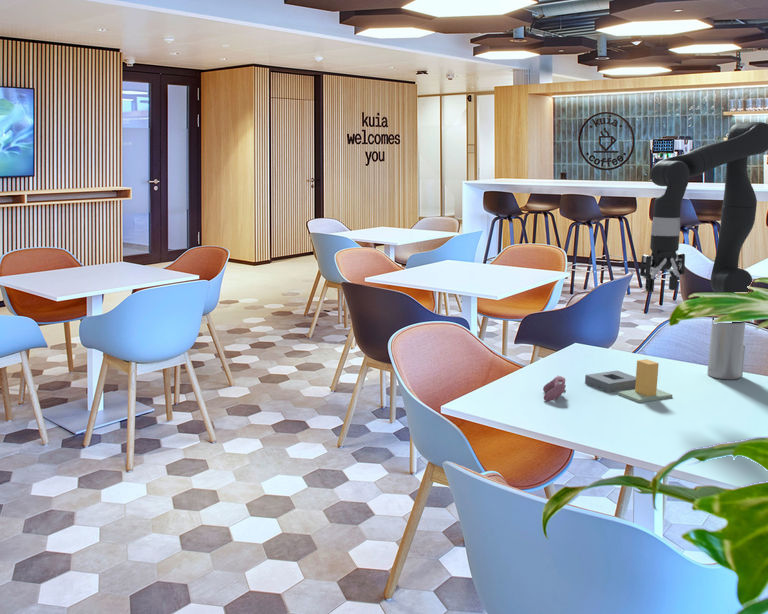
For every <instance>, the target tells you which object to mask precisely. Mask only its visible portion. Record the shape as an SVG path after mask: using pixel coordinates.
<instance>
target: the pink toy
mask: <svg viewBox="0 0 768 614" xmlns="http://www.w3.org/2000/svg"><path fill="white" fill-rule="evenodd" d="M542 390H543V392H544V393H545V394H544V395H543V400H544V401H545V402H551V401H555V400H558V398H560V396H562V395H563V394H566V392H567V389H566V377H564V376H560V375H557V376H555V377H554V378H553V379H552V380H551V381H549V382H548V383H546V384H545V385H544V386H543V388H542Z"/></svg>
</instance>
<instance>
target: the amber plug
mask: <svg viewBox="0 0 768 614" xmlns="http://www.w3.org/2000/svg"><path fill="white" fill-rule="evenodd" d="M635 371H636V372H635V377H636V383H635V388H634V390H635V392H637V393H640V394H642V395H645V396H652V395H656V391H657V389H658V388H657V387H658V379H659V378H658V376H659V362H656V361H653V360H651V359H639V360H638V359H637V360H636V370H635Z"/></svg>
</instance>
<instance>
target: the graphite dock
mask: <svg viewBox="0 0 768 614" xmlns="http://www.w3.org/2000/svg"><path fill="white" fill-rule="evenodd" d="M635 383H636V375H635V376H634V375H631V374H629V373H626V372H623V371H620V370H611V371H604V372H597V373H590V374H585V379H584V384H586V385H588V386H591V387H594V388H597V389H599V390H602V391H604V392H606V393H612V392H621V391H627V390H634V389H635Z"/></svg>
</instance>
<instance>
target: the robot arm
mask: <svg viewBox="0 0 768 614" xmlns="http://www.w3.org/2000/svg"><path fill="white" fill-rule="evenodd" d="M767 151H768V123H767V122H762V121H750V122H748V121H747V122H745V121H744V122H737V123H735V124H734V125H732V126H731V128H730V129H729V131H728V134H727V139H726V140H722V141H717V142H713V143H709V144H705V145H702V146H700V147H697V148H694V149H692V150H690V151H687V152H686V153H683V154H679V155H674V156H672V157H668V158H665V159H662V160H659V161H658V162H656V163H655V164H654V165H653V166H652V168H651V170H650V173H649V177H650V180H651V182H652V183H653V184H654V185H656V186H659V187H666V188H665V191H664V194H663V195H661V194H660V195H659V196H656V197H655V199H654V204H653V218H652V222H651V233H650V242H649V244H650V245H649V249H650V251H651V254H650V255H647V254H642V256H641V261H640V262H641V263H640V269H639V270H640V271H639V276H640V277H644V278H645V286H644V287H645V291H646V292H647V293H654V291H655V289H654V288H655V278H656V275H657V274H659V273H660V271H664V270H666V271H667V272H668V274H669V278H668V279H669V280H668V289H669V290H670V291H676V290H677V288H678V280H679V277H680V276H681V275H684V274H685V267H686V265H685V264H686V262H685V261H686V254H685V253H682V252H677V251H679V248H680V247H679V246H680V237H681V236H680V234H681V211H682V210H681V209H682V201H683V198H684V195H685V193H686V190H687V187H688V184H689V182H690V181H689V180H690V178H693V177H697V176H699V175H701V174H704V173H706V172H708V171H711V170H712V169H715V168H718V167H720V166H724V165H726V166H725V167H726V170H725V183H724V191H723V192H724V193H723V200H722V206H721V214H720V226H719V232H718V233H719V234H718V241H717V247H716V253H715V256H714V257H715V258H714V261H713V262H714V263H713V266H712V270H711V275H710V288H711V290H712V291H713V292H714V293H715V292H748V291H749V289H748V288H747V286H749V285H750V284H751V282H752V281H753V283H752V284H751V285H752V287H753V288H754V280H753V277H752V275H751V273H750V272H749V271H747V270H745V269H743V268H739V261H740V253H741V250H742V247H743V245H744V243H745V242H746V239H747V238H748V237H749V235H750V233H751V232H752V229H753V227H754V225H755V220H756V213H757V207H758V205H757V204H758V200H757V196H756V195H757V194H756V192H755V190H754V188H753V185H752V183H751V180H750V178H749V174H748V158H749V157H751V156H756V155H761V154H764V153H765V152H767ZM711 319H712V320H711V326H710V327H711V329H710V340H709V353H708V360H707V361H708V362H707V375H708V376H709V377H712V378H715V379H720V380H737V379H738V380H739V379H740V378H741V377H743V375H744V374H743V372H744V365H745V364H744V363H745V354H746V346H745V344H744V342H745V332H746V331H745V330H746V321H745V322H732V323H717V324H714V323H713V320H714V318H712V317H711Z"/></svg>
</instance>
